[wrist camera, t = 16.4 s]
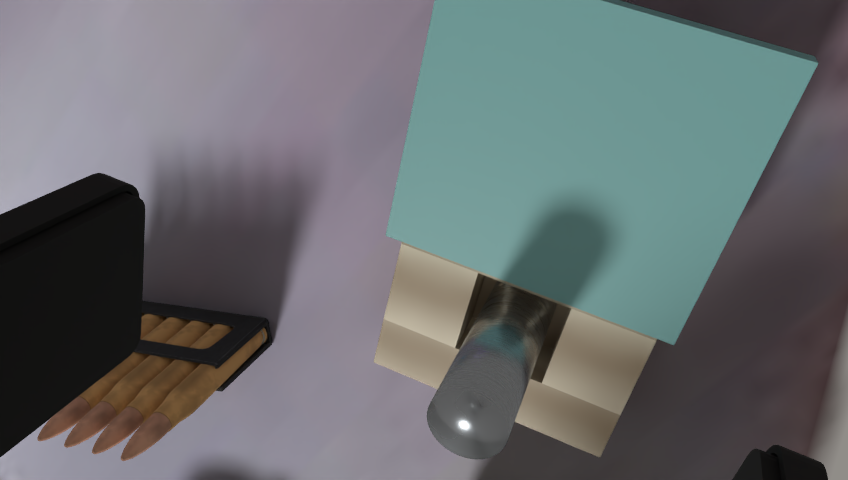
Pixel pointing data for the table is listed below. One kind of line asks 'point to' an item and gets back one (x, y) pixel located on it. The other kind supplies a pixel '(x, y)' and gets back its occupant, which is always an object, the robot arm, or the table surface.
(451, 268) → the block
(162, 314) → the ammunition clip
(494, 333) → the steel pin
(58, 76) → the table surface
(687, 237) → the teal square plate
